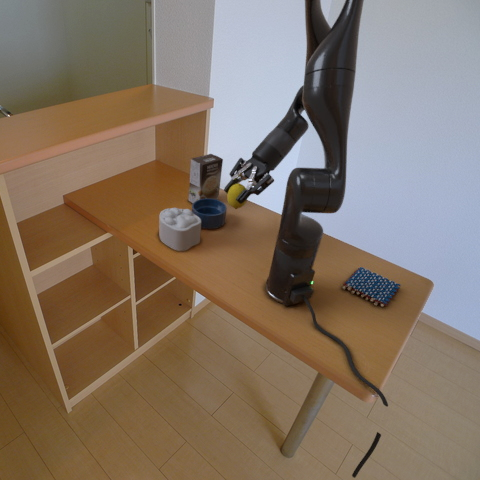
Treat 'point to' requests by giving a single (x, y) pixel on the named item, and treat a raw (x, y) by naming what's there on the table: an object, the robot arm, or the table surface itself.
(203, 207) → the bowl
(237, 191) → the lemon
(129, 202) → the table surface
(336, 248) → the table surface
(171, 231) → the paw print block
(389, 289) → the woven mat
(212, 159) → the coffee box
